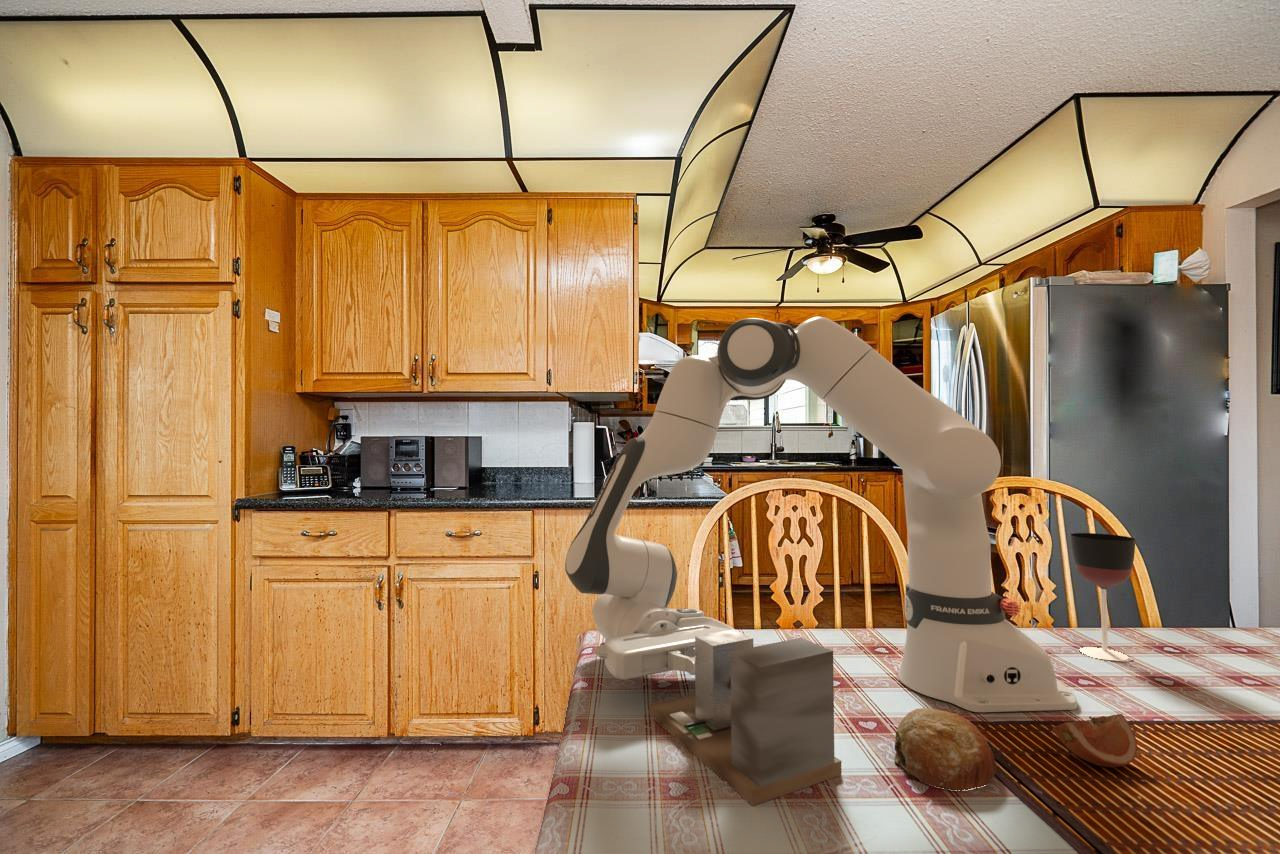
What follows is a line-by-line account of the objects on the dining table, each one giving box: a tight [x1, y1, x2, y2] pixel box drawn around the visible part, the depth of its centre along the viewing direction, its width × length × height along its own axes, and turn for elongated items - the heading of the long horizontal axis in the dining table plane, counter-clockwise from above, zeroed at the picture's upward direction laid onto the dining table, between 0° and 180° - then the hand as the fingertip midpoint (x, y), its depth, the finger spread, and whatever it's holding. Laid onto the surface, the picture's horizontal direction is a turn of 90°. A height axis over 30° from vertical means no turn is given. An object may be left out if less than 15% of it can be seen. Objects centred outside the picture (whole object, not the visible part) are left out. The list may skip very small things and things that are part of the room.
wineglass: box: [1070, 532, 1136, 660], centre depth 101 cm, size 8×9×20 cm
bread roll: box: [893, 707, 997, 791], centre depth 66 cm, size 10×10×8 cm
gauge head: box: [685, 628, 754, 731], centre depth 71 cm, size 7×9×10 cm
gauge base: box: [648, 637, 842, 807], centre depth 71 cm, size 22×12×14 cm, turn 27°
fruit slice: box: [1051, 713, 1138, 768], centre depth 67 cm, size 8×7×5 cm
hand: (702, 667), depth 78 cm, fingers closed
